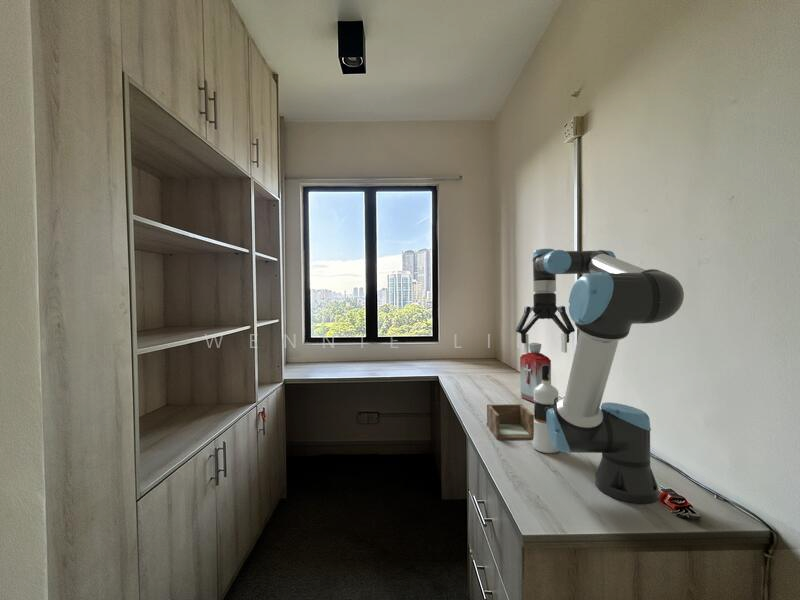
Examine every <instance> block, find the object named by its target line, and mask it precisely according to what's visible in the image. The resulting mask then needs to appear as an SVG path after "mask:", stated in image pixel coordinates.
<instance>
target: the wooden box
mask: <svg viewBox="0 0 800 600" xmlns="http://www.w3.org/2000/svg"><path fill="white" fill-rule="evenodd" d="M486 414H487V415H486V417H487V419H486V421H487V423H486V426H487V428H488V427H489V428H488V429H489V431H490V432H491V434H492V435H493V436H494V438H495V439H496V440H497V441H501V440H502V441H507V440H508V441H510V440H511V441H513V440H515V441H516V440H519V441H522V440H533V438H534V414H533V413H532V412H531V411H530V410H528V408H526V407H525V406H524V405H523V404H520V403H516V404H514V403H513V404H487V406H486Z"/></svg>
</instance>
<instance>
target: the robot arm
mask: <svg viewBox="0 0 800 600" xmlns="http://www.w3.org/2000/svg"><path fill="white" fill-rule="evenodd" d="M532 255H533V256H532V272H533V273H532V276H533V277H532V278H533V282H532V283H533V288H532V289H533V292H534V293H533V301H532V302H533V306H525V307H524V310H523V314H522V315H521V318H520V320H519V322H518V324H517V327H516V329H515V332H516V333H519V334H520V339H521V340H520V341H521V344H523V353H524V354H527V353H530V349H529V343H530V342H529V334H528V332H529V331H530V330H531V328H532V327H533V326H534V325H535V323H537V321H538V320H550V319H551V320H552V321H553V322H554V323H555V325H556V326H557V327H558V328H559V329H560V330H561V332H563V333H560V337H561V338H560V339H561V346H560V347H561V350H560V351H561V352H562V353H568V343H570V335H571V333H574V332H576V330H575V328H576V329H577V330H578V331H579V332H578V337H577V341H576V346H575V350H574V354H573V357H572V358H573V360H572V364H571V368H570V372H569V377H568V382H567V386H566V389H565V394H564V396H562V397H561V398H559V399H558V400H559V401H558V403H557V407H556V409H553V408H551V409H548V410H547V413H546V420H547V427H548V432H549V436H550V439H551V442H552V444H553V446H554V448H555V449H556V450H558V451H559V452H561V453H569V454H572V453H574V454H575V453H577V454H578V453H579V454H580V453H584V454H585V453H588V454H589V453H591V454H595V453H596V454H600V453H601V458H600V461H599V464H598V466H597V469H596V472H595V474H594V475H595V477H594V478H595V479H594V483H595V485H596V488H597V489H598V490H600V491H601V492H602V493H604V494H605V495H607V496H609V497H612V498H614V499H617V500H619V501H623V502H627V503H633V504H652V503H654V502H657V500H658V499H659V486H658V484H657V481H656V478H655V476H654V472H653V469H652V465H651V431H652V428H651V420H650V417H649V415H648V414H647V413H646V412H645V411H643V410H641V409H639V408H637V407H634V406H631V405H627V404H622V403H618V402H617V403H616V402H611V401H610V402H609V401H608V402H607V401H606V402H602V400H603V397H604V393H605V389H606V387H607V382H608V379H609V375H610V372H611V369H612V366H613V362H614V358H615V355H616V351H617V348H618V344H619V341H621V340H623V339H626V338H627V337H628V335H629V334H630V330H631V328H632V325H635V324H637V325H638V324H641V325H642V324H643V325H644V324H645V325H646V324H655V323H660V322H664V321H665V320H668V319H670V318H671V317H672V316H674V315H676V313H677V312H678V311H679V310H680V308H681V307H682V305H683V302H684V298H685V296H684V295H685V293H684V288H683V286H682V284H681V283H680V280H678V279H677V278H676V277H675V276H673V275H672V274H669V273H667V272H664V271H662V270H659V269H655V268H654V269H653V268H650V269H644V268H642V267H639V266H636V265H634V264H632V263H629V262H627V261H624V260H621V259H619V258H617V257H616V255H615V253H614V252H613V251H611V250H604V249H599V250H563V249H554V248H540V249H535V250H534V251H533V254H532ZM573 274H574V275H580V274H581V275H582V276H580V277H579V278H578V279H577V280H575V282H574V284H573V285H572V287H571V290H570V293H569V297H568V304H569V306H568V313H569V315H568V314H567V311H566V306H564V305H559V306H557V294H556V293H555V292H556V291H557V282H556V281H557V275H573ZM532 312H533V313H534V314H533V315H532V316H531V318H530V320H528V319H529V316H530V314H531V313H532ZM557 312H558V313H559V315H560V317H561V319H562V320H561V319H559V317H558V315H557V314H556V313H557ZM570 318H571V320H572V321H573V322H574V325H573V324H572V322H571V320H570ZM527 321H528V322H527ZM562 321H563V322H562ZM574 326H575V327H574ZM601 403H602V404H601Z"/></svg>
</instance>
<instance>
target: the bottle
mask: <svg viewBox="0 0 800 600" xmlns="http://www.w3.org/2000/svg"><path fill="white" fill-rule="evenodd" d="M541 349H542V344H541V343H540V342H529V353H524V354H522V355H521V356H520V357H519V358H520V359H519V360H520V362H519V363H520V365H519V370H520V371H519V374H520V375H519V376H520V377H519V378H520V379H519V380H520V382H519V383H520V384H519V385H520V391H519V392H520V394H521V395H520V397H521V398H522V399H523V398H524V400H527V401H529V402H531V403H533V404H534V394H533V391H534V388H535V387H537V386H538V385H540V384H541V383H542V365H549V366H550V367H549V376H550V384H551V385H552V360H551V359H550V357H548V356H546V355H545V354H543V353H541Z"/></svg>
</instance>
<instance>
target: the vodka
mask: <svg viewBox="0 0 800 600" xmlns="http://www.w3.org/2000/svg"><path fill="white" fill-rule="evenodd" d="M549 367H550V366H549V365H542V383H541V384H540V385H538V386H537V387H535V388H534V391H533V394H534V403H533V411H534V414H533V415H534V438H533V439H532V446H533V448H534V449H535V450H536V451H537V452H539V453H543V454H548V455H549V454H557V453H558V452H560V451H558V450H556V449H555V448H554V446H553V444H552V442H551V439H550V436H549V432H548V427H547V420H546V413H547V410H548V409H551V408H553V409H556V407H557V403H558V401H559V400H560V399H559V395H560V394H559V390H558V389H557V388H556V387H555V386H554V385H552V383H551V384H550V376H549Z"/></svg>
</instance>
